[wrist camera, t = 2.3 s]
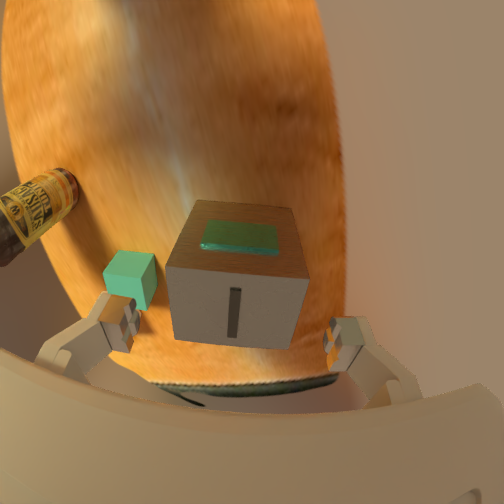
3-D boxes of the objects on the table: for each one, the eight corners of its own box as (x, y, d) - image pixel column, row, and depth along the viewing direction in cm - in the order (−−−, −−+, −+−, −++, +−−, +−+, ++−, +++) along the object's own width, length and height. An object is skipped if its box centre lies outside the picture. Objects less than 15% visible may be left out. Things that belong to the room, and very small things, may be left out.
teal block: (118, 249, 32) (102, 273, 28) (154, 253, 32) (140, 278, 28) (124, 280, 35) (111, 304, 30) (158, 284, 35) (147, 310, 31)
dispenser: (197, 197, 28) (163, 264, 18) (291, 206, 28) (311, 277, 18) (197, 261, 33) (174, 341, 22) (279, 269, 33) (288, 351, 23)
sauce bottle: (89, 192, 27) (-25, 304, 11) (65, 219, 29) (-29, 324, 13) (60, 152, 25) (-68, 237, 8) (38, 183, 26) (-68, 271, 10)
